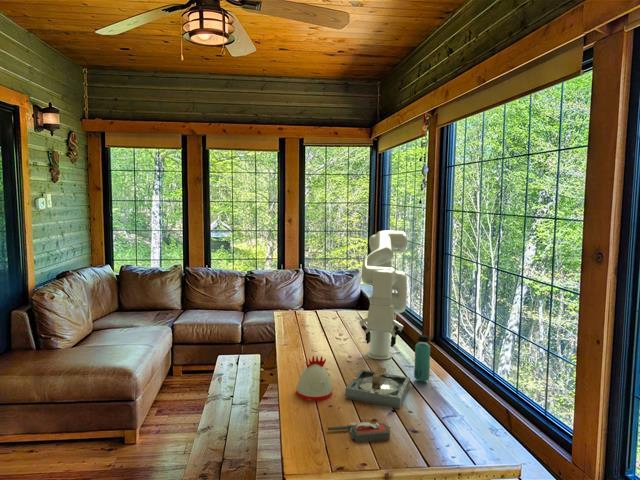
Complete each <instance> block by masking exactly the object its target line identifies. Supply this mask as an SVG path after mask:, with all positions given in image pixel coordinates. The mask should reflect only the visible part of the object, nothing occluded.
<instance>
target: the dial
mask: <svg viewBox="0 0 640 480" xmlns="http://www.w3.org/2000/svg"><path fill="white" fill-rule="evenodd" d="M374 372H375V373H374V375H373V376H372V377H366V378H363V379H361V380H360V381H359V388H360V389H362V390H367V391H375V392H378V393H384V394H389V395H392V394H395V393H397V392H398V391H399V384H398V383H397V382H396V381H394V380H392V379H389V378H386V374H387V368H386V367H378V368H377V369H376V370H375V371H374Z"/></svg>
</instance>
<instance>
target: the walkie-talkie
mask: <svg viewBox="0 0 640 480" xmlns="http://www.w3.org/2000/svg"><path fill="white" fill-rule="evenodd" d="M339 430H340V431H341V430H343V431H344V430H349V434H351V439H352V440H354V441H355V443H365V442H366V443H367V442H369V443H370V442H376V441H377V442H379V441H389V440H390V438H391V430H390V428H389V427H388V425H387V423H385V422H375V423H374V422H373V423H371V422H369V421H365V422H364V421H363V422H350V424H349V425H342V426H341V425H340V426H328V427H327V431H339Z"/></svg>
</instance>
